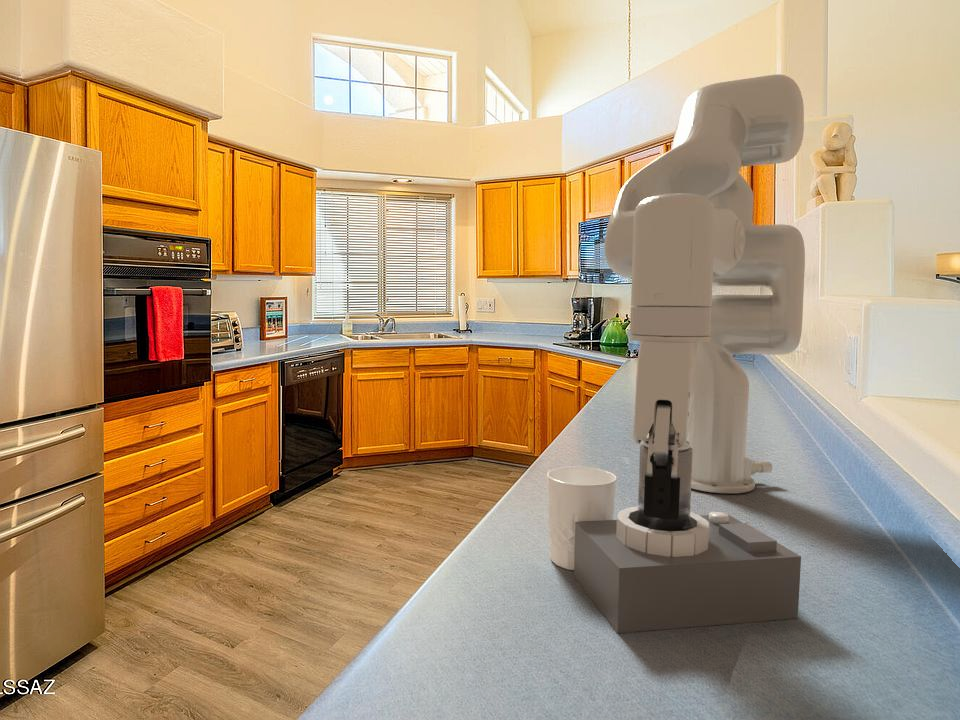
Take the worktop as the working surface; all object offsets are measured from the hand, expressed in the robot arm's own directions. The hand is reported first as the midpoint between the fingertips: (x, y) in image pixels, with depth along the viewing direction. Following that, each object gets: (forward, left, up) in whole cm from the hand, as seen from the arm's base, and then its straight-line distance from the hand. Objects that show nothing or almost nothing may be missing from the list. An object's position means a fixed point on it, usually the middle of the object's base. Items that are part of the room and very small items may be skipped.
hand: (663, 506), depth 61 cm
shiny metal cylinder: (0, 0, -2) cm, 2 cm away
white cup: (+5, -10, -9) cm, 15 cm away
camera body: (-2, 0, -9) cm, 9 cm away
